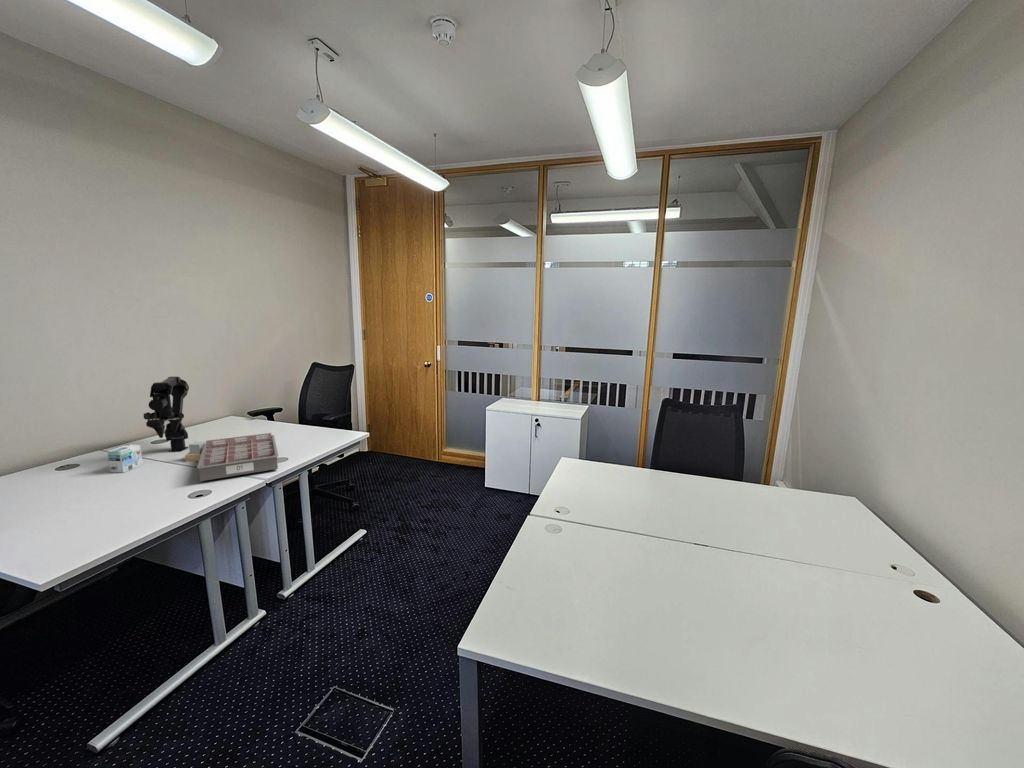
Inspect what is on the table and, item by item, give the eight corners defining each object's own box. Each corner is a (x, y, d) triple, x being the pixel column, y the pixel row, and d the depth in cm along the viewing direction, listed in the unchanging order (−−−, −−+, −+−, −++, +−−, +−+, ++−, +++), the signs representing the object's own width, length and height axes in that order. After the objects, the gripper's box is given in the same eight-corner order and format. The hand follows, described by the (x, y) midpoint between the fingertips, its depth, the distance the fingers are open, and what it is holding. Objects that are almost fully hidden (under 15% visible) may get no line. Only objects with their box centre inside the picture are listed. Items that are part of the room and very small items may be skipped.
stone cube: (196, 450, 218) (195, 441, 218) (206, 450, 219) (205, 441, 218) (189, 453, 214) (188, 444, 213) (200, 453, 214) (199, 444, 213)
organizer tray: (198, 485, 185) (195, 464, 184) (205, 458, 218) (203, 440, 217) (279, 471, 202) (278, 452, 201) (275, 448, 236) (273, 431, 234)
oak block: (194, 457, 220) (193, 450, 219) (211, 456, 222) (210, 449, 221) (185, 462, 212) (184, 455, 212) (203, 461, 214) (202, 454, 213)
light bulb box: (123, 473, 197) (120, 451, 195) (109, 472, 197) (106, 451, 195) (143, 464, 207) (141, 444, 206) (130, 464, 208) (127, 444, 206)
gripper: (161, 402, 222) (164, 430, 225) (132, 410, 204) (137, 440, 207) (183, 402, 223) (186, 430, 226) (156, 410, 205) (160, 440, 208)
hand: (167, 435), depth 217 cm, fingers open, 9 cm apart
